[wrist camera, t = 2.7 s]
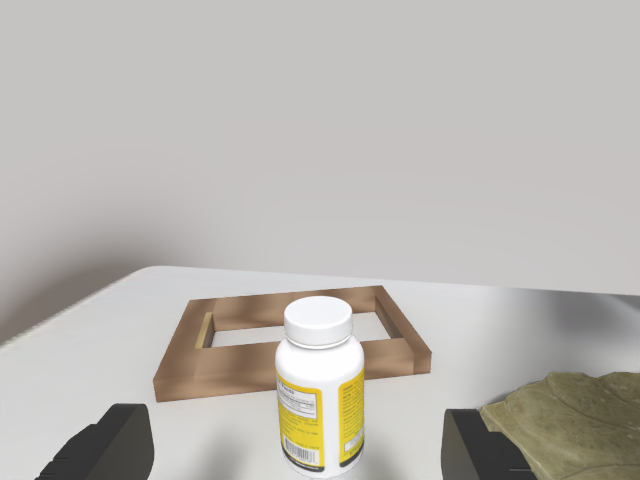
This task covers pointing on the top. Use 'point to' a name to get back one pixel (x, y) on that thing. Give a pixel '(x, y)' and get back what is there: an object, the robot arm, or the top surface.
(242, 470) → the top surface
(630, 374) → the decorative tile
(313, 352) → the supplement bottle
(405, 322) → the keyhole board
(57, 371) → the top surface
